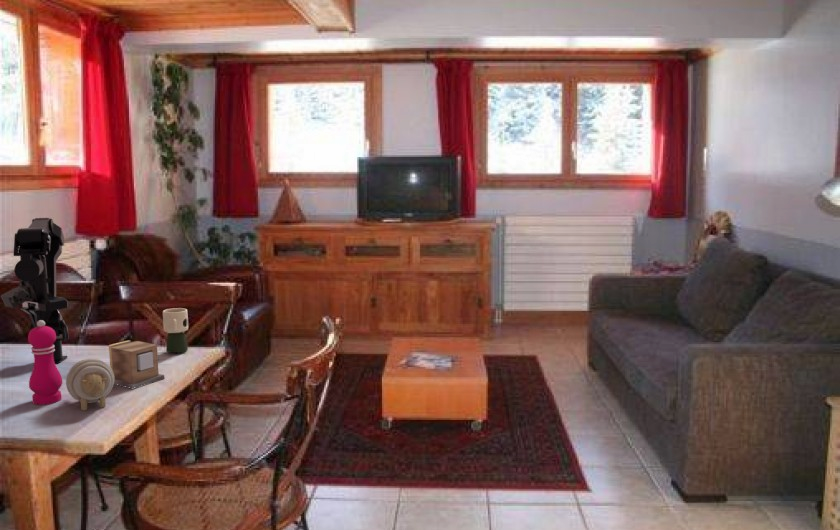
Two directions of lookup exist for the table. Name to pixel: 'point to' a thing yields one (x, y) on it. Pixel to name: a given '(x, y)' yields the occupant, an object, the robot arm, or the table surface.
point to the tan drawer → (142, 358)
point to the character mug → (176, 329)
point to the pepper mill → (44, 366)
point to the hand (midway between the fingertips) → (39, 332)
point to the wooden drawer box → (133, 364)
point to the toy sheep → (90, 381)
